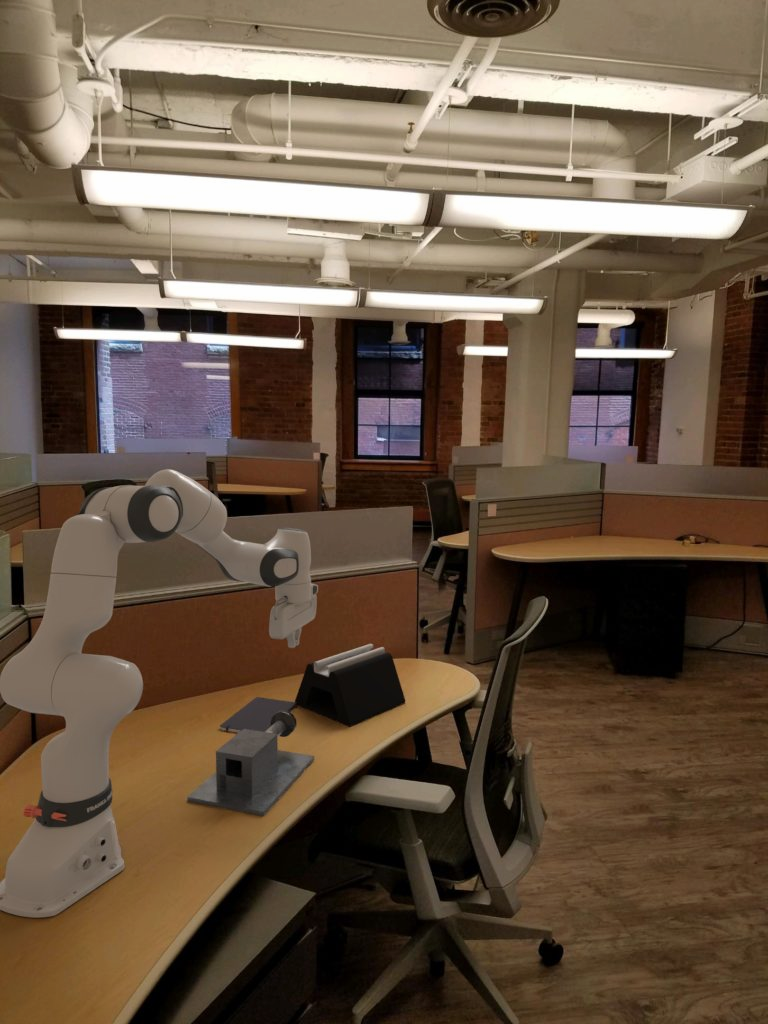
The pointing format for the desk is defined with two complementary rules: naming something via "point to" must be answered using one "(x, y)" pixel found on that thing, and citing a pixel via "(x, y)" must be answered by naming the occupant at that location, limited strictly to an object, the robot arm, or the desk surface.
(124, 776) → the desk surface
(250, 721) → the paper product
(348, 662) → the device stand
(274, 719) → the shaft
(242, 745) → the bearing housing
